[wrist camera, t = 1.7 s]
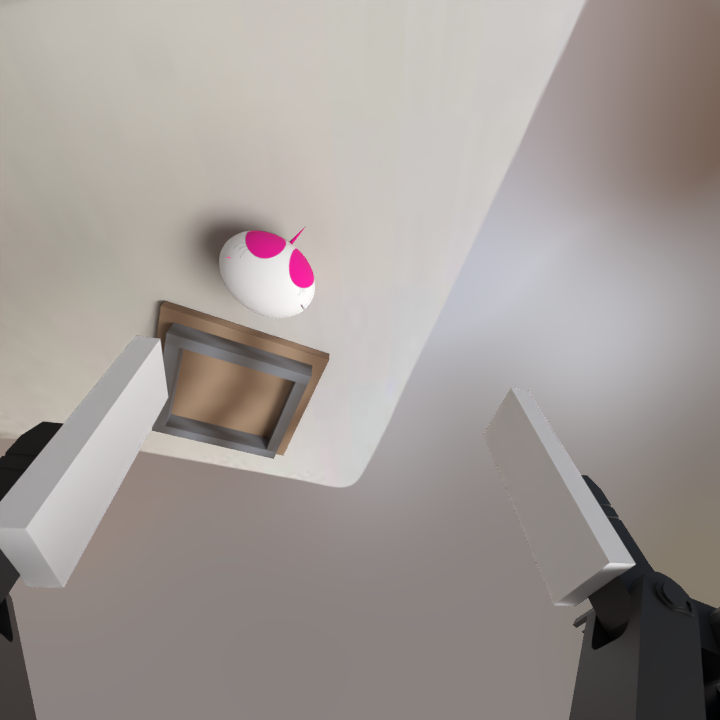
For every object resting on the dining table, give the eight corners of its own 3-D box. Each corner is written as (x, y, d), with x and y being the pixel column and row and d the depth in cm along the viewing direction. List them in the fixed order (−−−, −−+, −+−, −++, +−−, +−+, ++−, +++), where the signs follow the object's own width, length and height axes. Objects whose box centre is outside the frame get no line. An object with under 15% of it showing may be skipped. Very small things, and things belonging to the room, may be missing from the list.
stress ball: (346, 241, 31) (347, 272, 25) (292, 307, 34) (284, 347, 29) (268, 178, 28) (251, 198, 22) (218, 257, 31) (192, 291, 26)
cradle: (148, 416, 42) (137, 435, 39) (165, 300, 33) (152, 315, 31) (284, 449, 46) (281, 467, 44) (329, 354, 37) (328, 370, 35)
